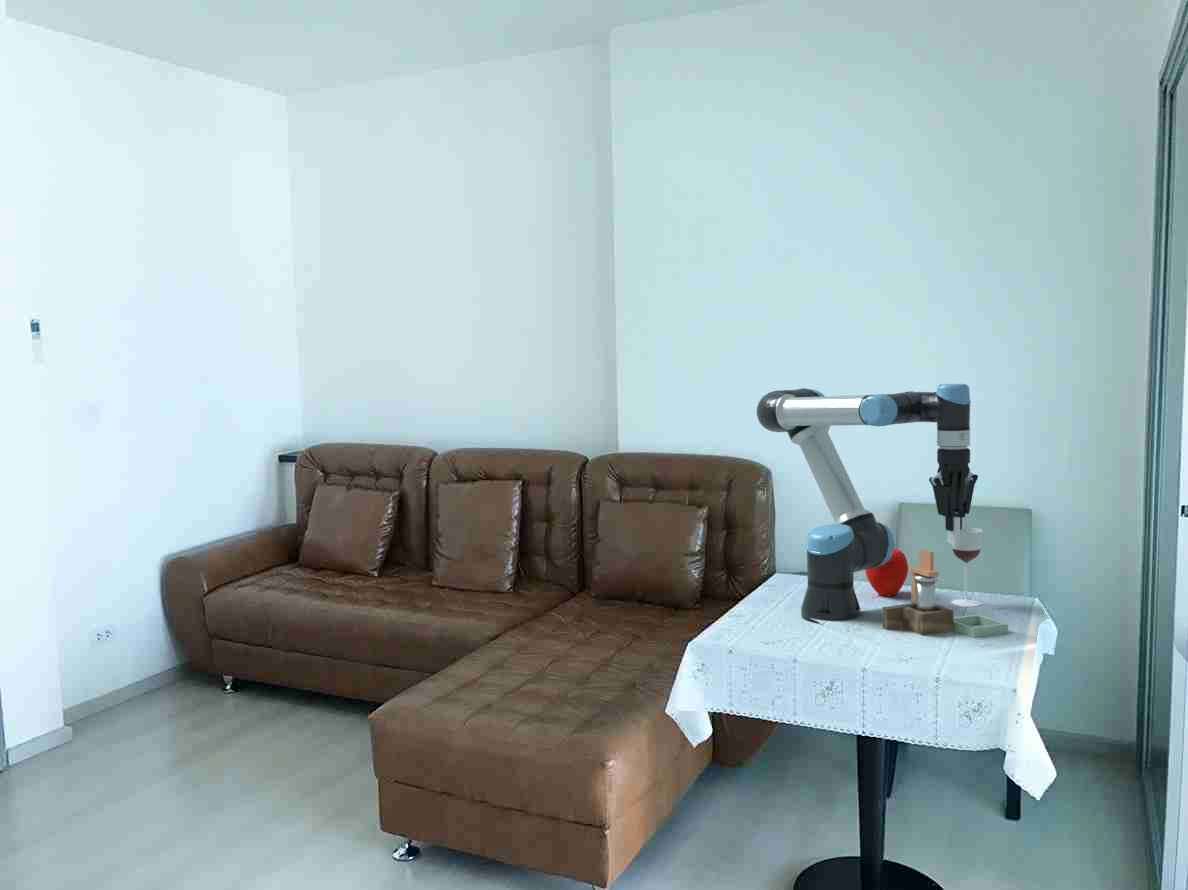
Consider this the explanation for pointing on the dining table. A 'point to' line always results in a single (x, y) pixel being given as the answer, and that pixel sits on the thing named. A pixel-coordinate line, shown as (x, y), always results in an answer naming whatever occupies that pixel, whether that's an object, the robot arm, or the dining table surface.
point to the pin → (925, 592)
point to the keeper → (922, 570)
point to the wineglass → (968, 556)
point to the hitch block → (918, 619)
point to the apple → (889, 575)
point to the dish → (987, 629)
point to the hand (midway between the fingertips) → (953, 543)
